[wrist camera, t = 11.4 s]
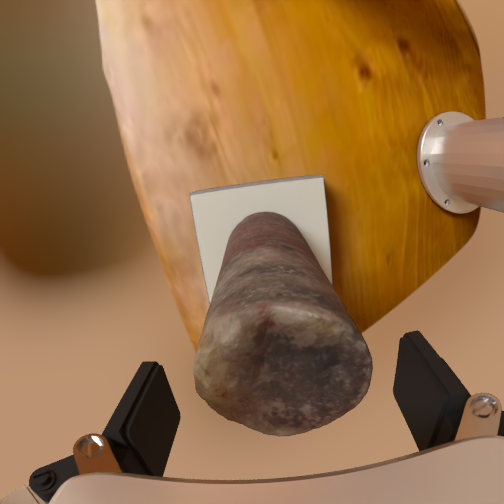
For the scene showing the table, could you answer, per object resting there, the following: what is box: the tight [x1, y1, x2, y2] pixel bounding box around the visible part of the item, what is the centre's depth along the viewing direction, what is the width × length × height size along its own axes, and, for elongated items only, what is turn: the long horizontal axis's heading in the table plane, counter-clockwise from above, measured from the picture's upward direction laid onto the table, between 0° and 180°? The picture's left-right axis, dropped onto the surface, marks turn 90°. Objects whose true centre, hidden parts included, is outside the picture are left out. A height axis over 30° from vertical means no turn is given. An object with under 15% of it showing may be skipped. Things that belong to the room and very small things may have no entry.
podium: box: [189, 175, 333, 303], centre depth 32 cm, size 13×13×4 cm
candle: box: [193, 212, 373, 436], centre depth 20 cm, size 8×7×20 cm
